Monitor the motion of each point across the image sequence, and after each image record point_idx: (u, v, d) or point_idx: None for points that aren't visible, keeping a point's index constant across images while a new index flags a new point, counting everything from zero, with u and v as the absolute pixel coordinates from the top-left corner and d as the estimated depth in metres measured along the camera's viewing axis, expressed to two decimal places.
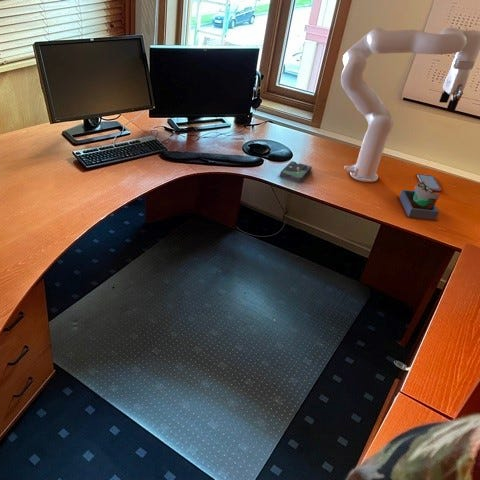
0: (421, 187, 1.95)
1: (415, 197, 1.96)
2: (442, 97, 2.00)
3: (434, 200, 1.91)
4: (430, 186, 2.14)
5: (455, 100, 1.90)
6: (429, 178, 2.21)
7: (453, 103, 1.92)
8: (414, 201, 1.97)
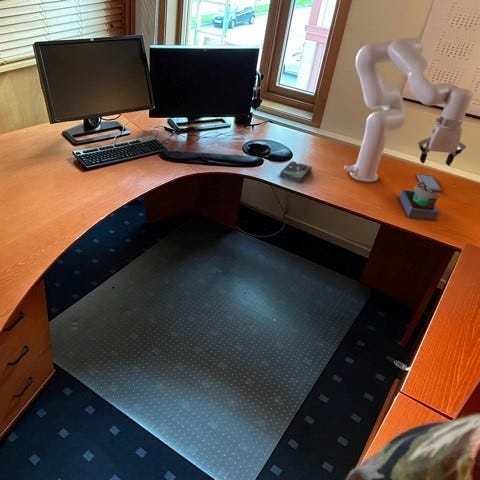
0: (421, 187, 1.95)
1: (415, 197, 1.96)
2: None
3: (434, 200, 1.91)
4: (430, 186, 2.14)
5: None
6: (429, 178, 2.21)
7: None
8: (414, 201, 1.97)
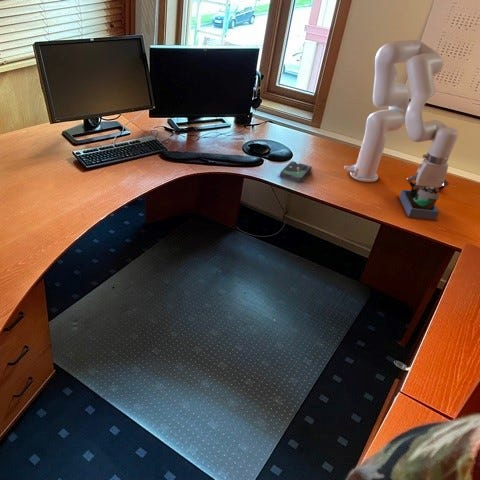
0: (421, 187, 1.95)
1: (415, 197, 1.96)
2: None
3: (434, 200, 1.91)
4: None
5: None
6: None
7: None
8: (414, 201, 1.97)
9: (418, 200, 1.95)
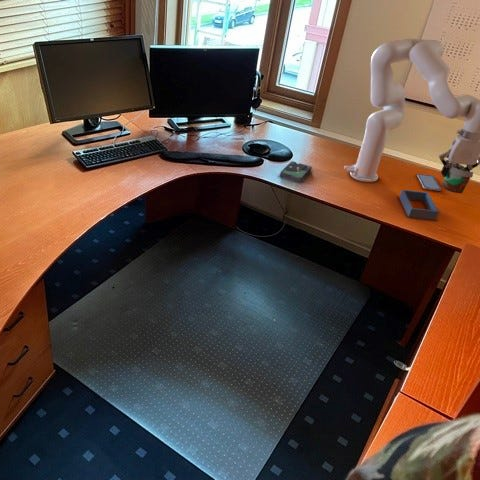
0: (453, 165, 1.88)
1: (447, 176, 1.89)
2: None
3: (467, 178, 1.83)
4: (430, 186, 2.14)
5: None
6: (429, 178, 2.21)
7: None
8: (445, 180, 1.90)
9: (450, 179, 1.87)
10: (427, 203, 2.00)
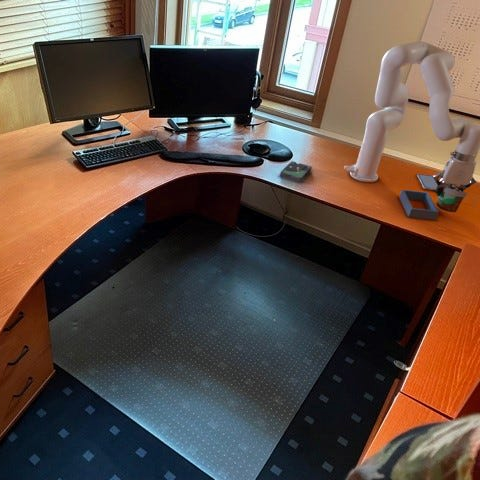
0: (447, 185, 1.93)
1: (441, 195, 1.94)
2: None
3: (461, 198, 1.88)
4: (430, 186, 2.14)
5: None
6: (429, 178, 2.21)
7: None
8: (440, 199, 1.95)
9: (444, 198, 1.92)
10: (427, 203, 2.00)
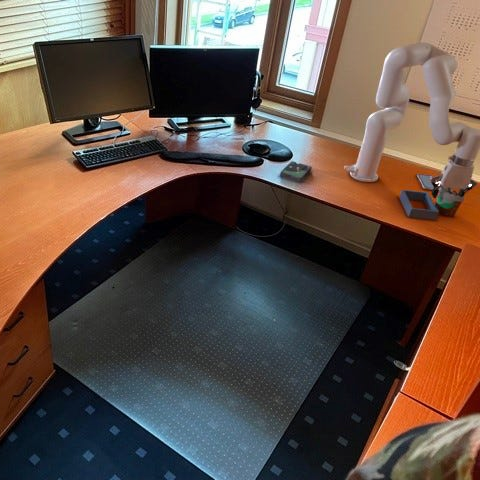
0: (445, 190, 1.94)
1: (439, 200, 1.95)
2: None
3: (458, 203, 1.90)
4: (430, 186, 2.14)
5: None
6: (429, 178, 2.21)
7: None
8: (438, 204, 1.96)
9: (442, 202, 1.93)
10: (427, 203, 2.00)
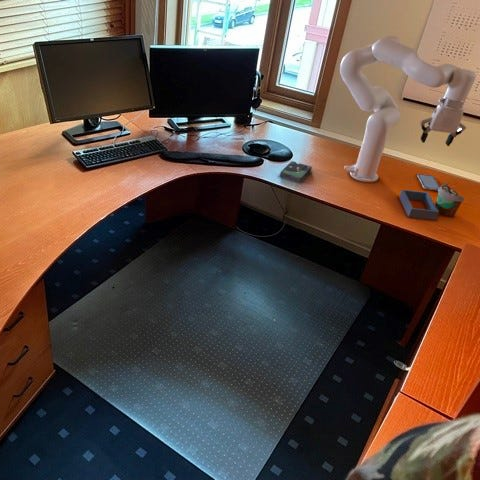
0: (445, 190, 1.94)
1: (439, 200, 1.95)
2: None
3: (458, 203, 1.90)
4: (430, 186, 2.14)
5: None
6: (429, 178, 2.21)
7: None
8: (438, 204, 1.96)
9: (442, 202, 1.93)
10: (427, 203, 2.00)
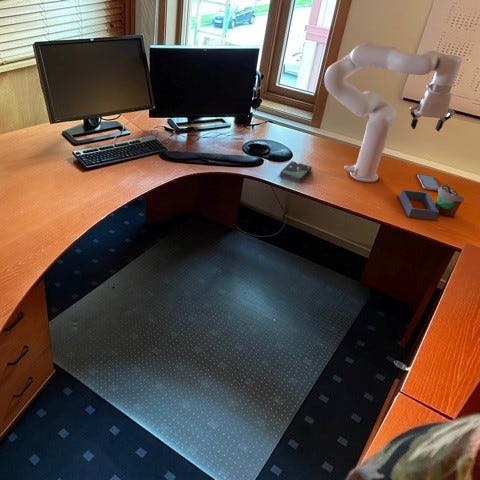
0: (445, 190, 1.94)
1: (439, 200, 1.95)
2: None
3: (458, 203, 1.90)
4: (430, 186, 2.14)
5: None
6: (429, 178, 2.21)
7: None
8: (438, 204, 1.96)
9: (442, 202, 1.93)
10: (427, 203, 2.00)
